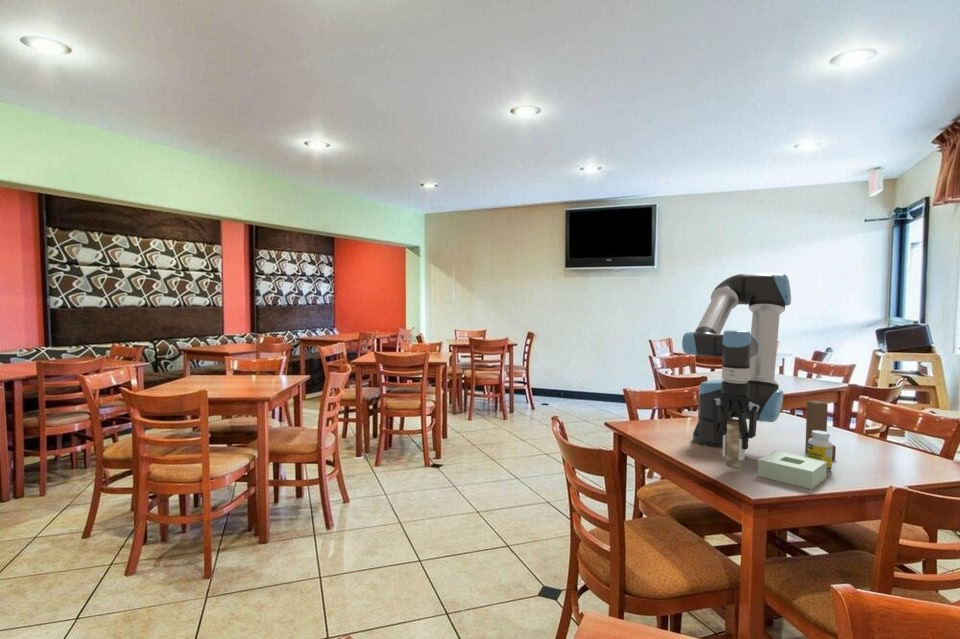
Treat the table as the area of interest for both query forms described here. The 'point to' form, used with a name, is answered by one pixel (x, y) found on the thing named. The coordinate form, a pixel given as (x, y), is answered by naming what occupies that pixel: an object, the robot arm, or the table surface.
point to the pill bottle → (820, 447)
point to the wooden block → (816, 420)
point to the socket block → (792, 469)
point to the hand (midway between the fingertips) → (733, 457)
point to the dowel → (733, 443)
